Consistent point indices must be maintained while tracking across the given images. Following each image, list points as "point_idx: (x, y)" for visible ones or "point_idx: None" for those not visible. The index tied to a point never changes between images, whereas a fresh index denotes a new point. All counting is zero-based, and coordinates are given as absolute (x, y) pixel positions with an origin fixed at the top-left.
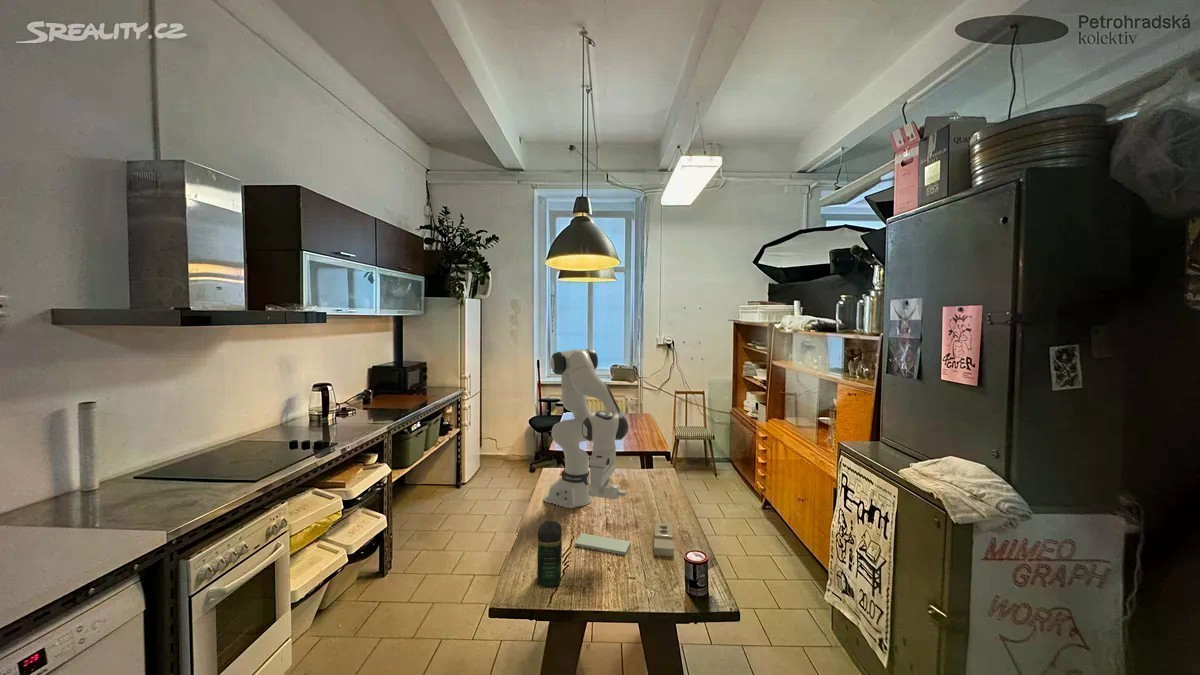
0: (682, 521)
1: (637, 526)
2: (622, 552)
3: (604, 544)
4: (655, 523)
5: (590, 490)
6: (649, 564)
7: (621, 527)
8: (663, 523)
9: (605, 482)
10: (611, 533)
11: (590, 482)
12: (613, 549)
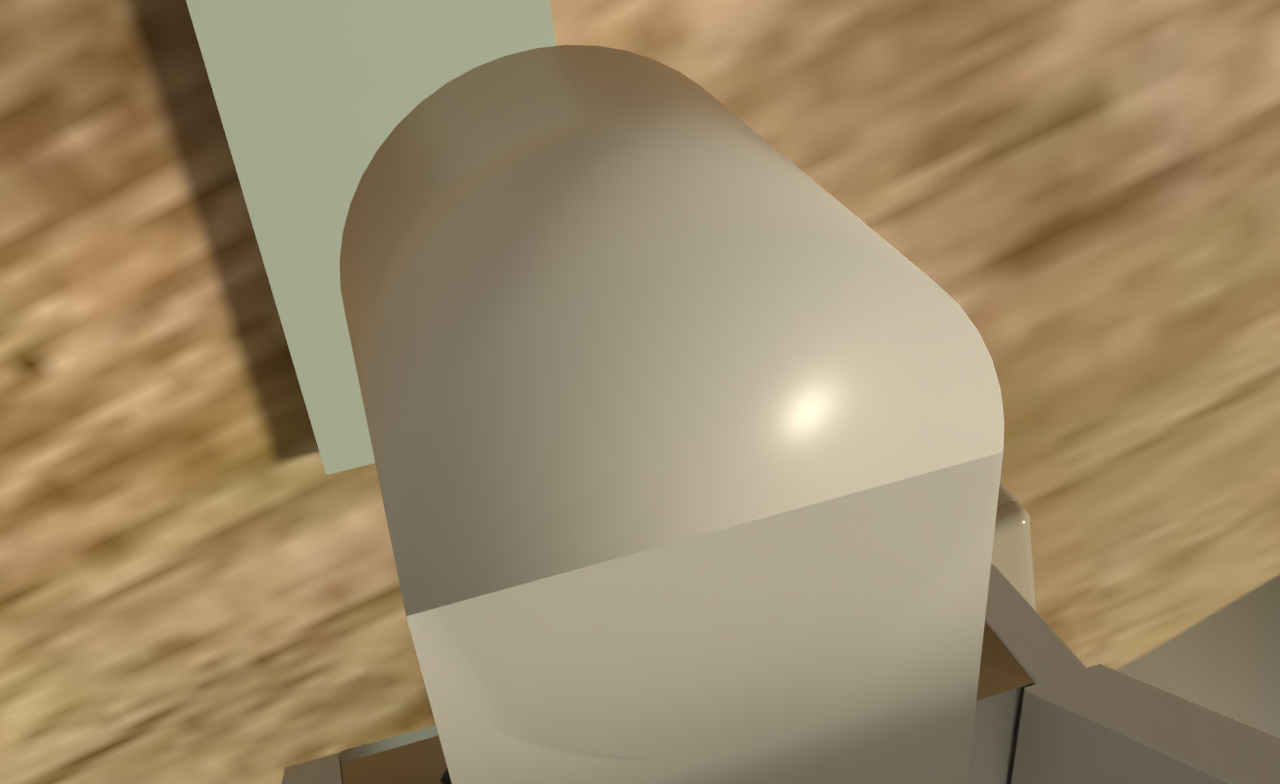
0: (1221, 563)
1: (1039, 253)
2: (314, 434)
3: (347, 156)
4: (1012, 529)
5: (366, 366)
6: (300, 706)
7: (969, 87)
8: (1034, 587)
9: (1061, 773)
10: (767, 38)
11: (860, 268)
12: (293, 328)
